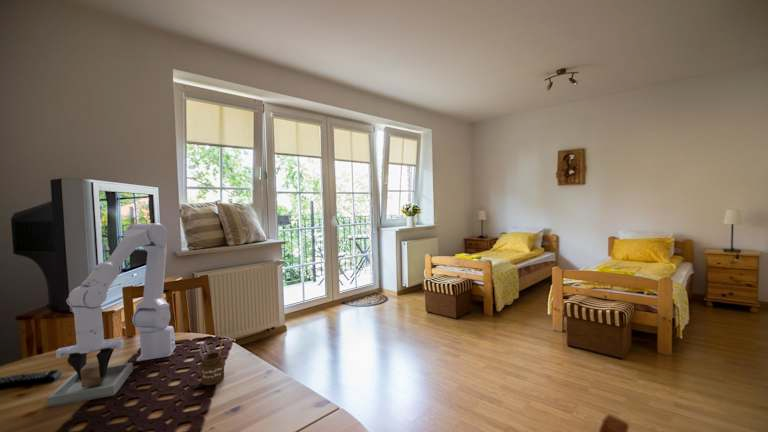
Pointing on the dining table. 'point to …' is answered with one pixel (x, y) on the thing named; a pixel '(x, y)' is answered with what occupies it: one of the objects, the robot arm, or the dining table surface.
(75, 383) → the tray
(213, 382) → the utensil holder
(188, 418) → the dining table surface
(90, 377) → the walnut block
